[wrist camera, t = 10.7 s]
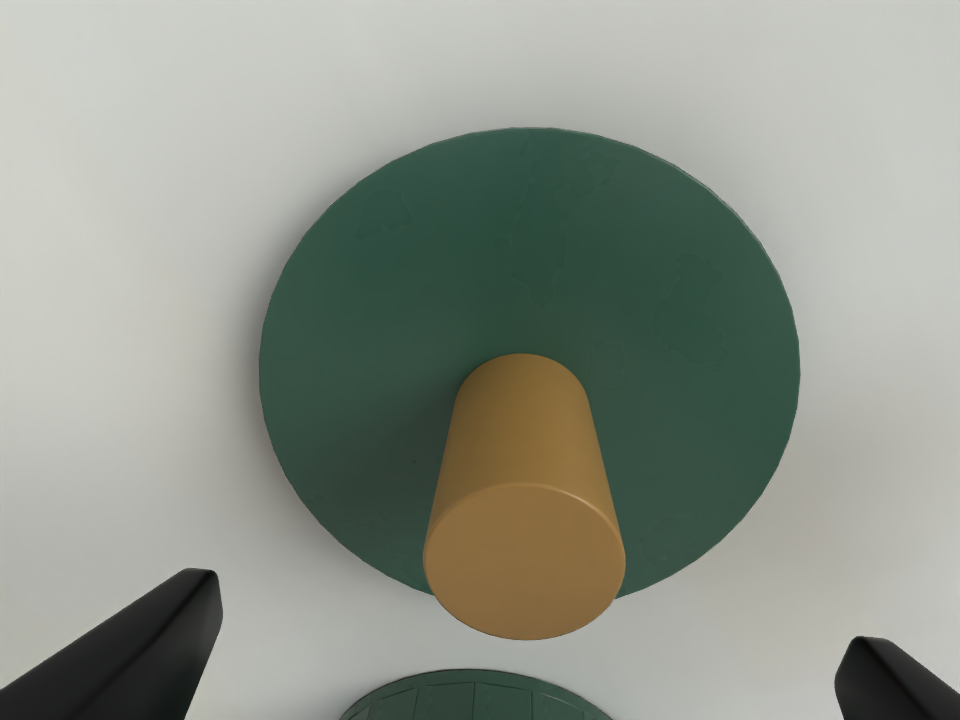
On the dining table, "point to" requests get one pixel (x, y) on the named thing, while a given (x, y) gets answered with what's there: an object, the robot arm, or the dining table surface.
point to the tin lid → (529, 374)
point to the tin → (472, 699)
